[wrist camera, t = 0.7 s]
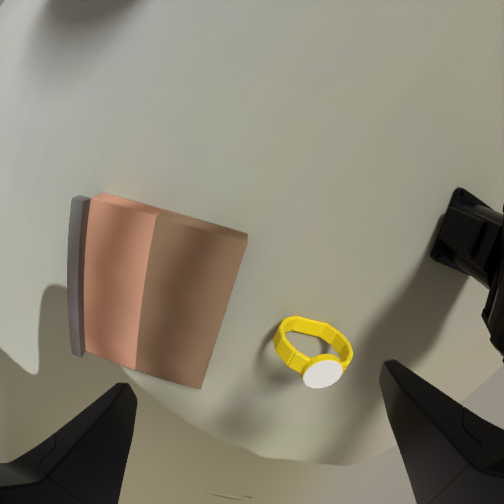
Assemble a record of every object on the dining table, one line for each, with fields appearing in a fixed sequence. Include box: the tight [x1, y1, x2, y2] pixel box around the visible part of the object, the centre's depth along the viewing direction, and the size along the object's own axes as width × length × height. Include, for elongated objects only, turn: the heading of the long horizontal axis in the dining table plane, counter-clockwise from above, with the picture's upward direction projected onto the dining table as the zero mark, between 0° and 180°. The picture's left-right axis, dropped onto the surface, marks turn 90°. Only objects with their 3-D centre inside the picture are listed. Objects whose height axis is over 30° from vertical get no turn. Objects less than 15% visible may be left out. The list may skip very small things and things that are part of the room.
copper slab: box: [67, 193, 247, 389], centre depth 20 cm, size 12×14×3 cm
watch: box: [273, 316, 353, 388], centre depth 20 cm, size 6×3×6 cm, turn 72°
